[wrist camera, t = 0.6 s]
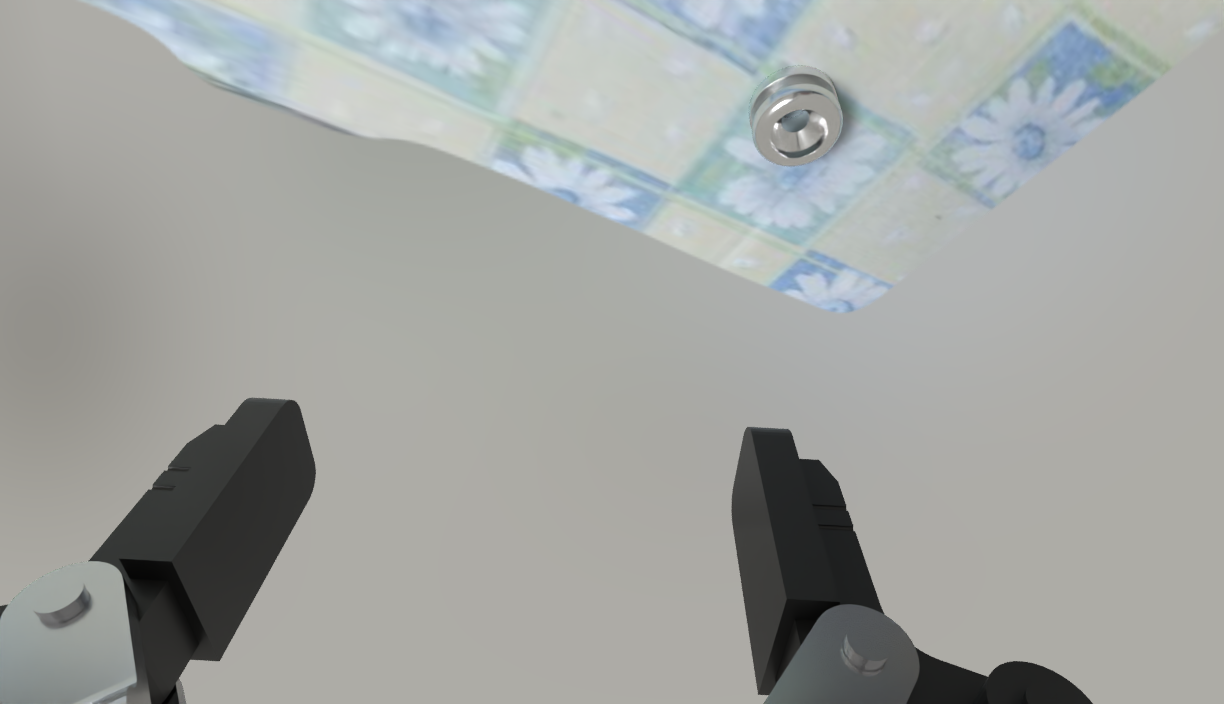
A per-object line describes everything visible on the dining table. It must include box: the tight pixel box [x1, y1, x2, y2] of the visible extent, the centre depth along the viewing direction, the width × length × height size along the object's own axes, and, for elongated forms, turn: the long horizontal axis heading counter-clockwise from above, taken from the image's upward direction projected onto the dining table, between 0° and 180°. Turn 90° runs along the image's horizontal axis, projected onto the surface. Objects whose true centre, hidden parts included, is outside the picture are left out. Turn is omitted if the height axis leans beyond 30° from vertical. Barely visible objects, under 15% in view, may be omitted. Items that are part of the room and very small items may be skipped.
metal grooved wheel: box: [749, 65, 843, 167], centre depth 39 cm, size 5×3×5 cm
